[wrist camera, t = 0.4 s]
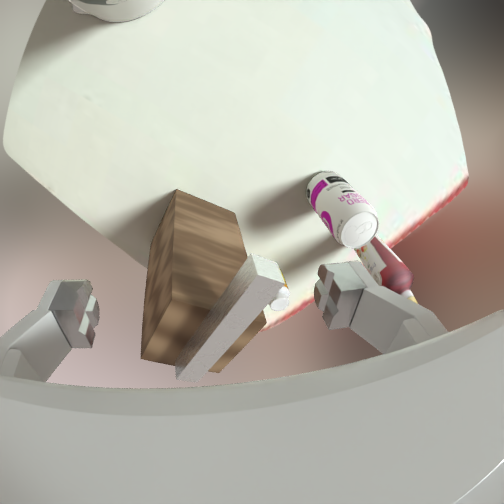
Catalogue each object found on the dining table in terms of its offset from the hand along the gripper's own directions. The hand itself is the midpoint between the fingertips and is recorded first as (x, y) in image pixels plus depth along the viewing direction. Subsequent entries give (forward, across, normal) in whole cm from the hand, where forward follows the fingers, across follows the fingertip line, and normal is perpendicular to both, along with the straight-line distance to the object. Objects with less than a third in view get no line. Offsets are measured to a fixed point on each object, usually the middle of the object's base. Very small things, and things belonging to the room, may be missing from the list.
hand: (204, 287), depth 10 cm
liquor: (+42, -35, +22) cm, 59 cm away
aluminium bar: (+15, -1, +18) cm, 23 cm away
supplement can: (+41, -24, +12) cm, 49 cm away
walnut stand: (+42, +2, +20) cm, 46 cm away
